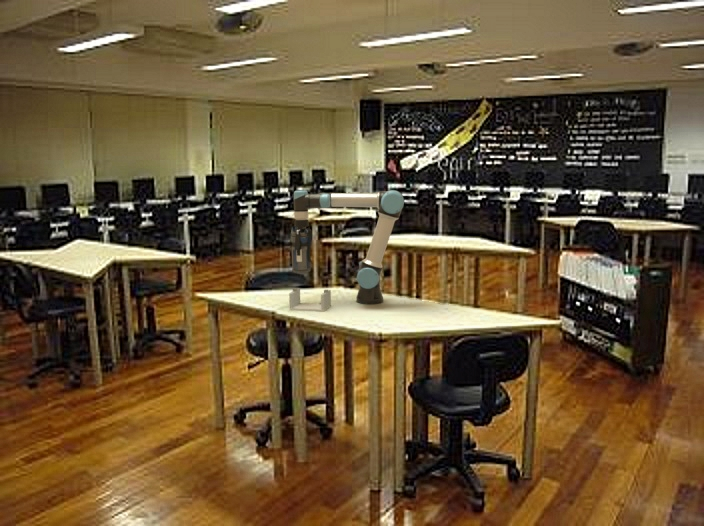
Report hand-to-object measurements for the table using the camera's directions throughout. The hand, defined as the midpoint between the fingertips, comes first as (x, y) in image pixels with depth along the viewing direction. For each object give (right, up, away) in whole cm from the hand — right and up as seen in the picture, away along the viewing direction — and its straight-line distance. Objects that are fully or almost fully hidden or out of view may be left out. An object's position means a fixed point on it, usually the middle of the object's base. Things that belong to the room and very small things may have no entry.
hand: (302, 260), depth 338 cm
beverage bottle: (0, -7, +1) cm, 7 cm away
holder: (+4, -26, -2) cm, 26 cm away
